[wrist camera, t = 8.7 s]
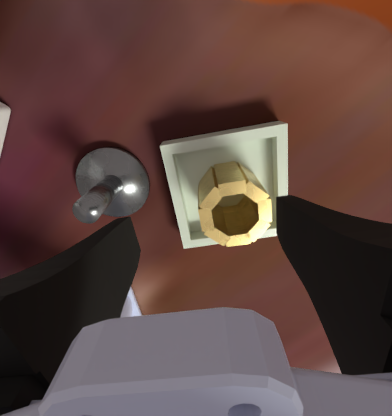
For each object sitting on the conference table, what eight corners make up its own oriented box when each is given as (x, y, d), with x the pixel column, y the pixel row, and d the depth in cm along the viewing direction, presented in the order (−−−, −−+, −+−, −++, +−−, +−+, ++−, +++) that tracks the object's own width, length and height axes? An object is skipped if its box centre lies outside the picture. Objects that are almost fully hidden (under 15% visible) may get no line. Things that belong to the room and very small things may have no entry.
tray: (281, 223, 23) (288, 234, 21) (185, 237, 24) (183, 248, 22) (279, 120, 19) (287, 123, 17) (163, 141, 20) (159, 145, 18)
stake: (157, 208, 22) (143, 244, 17) (93, 218, 23) (61, 255, 18) (139, 140, 20) (116, 157, 14) (67, 153, 20) (19, 174, 15)
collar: (253, 157, 20) (270, 176, 15) (258, 220, 22) (273, 252, 18) (195, 167, 20) (194, 188, 16) (205, 228, 23) (207, 261, 18)
